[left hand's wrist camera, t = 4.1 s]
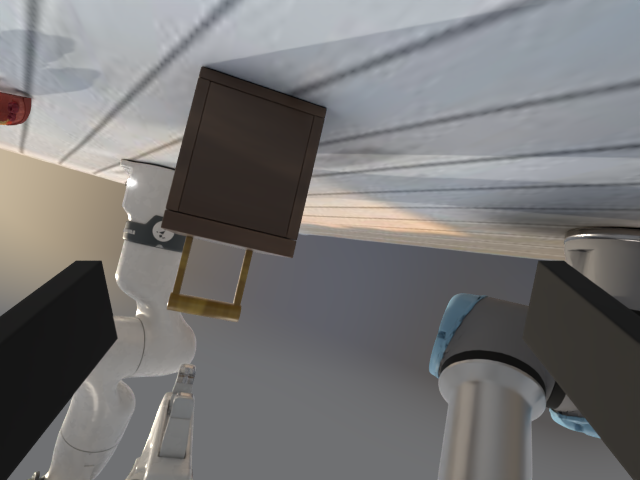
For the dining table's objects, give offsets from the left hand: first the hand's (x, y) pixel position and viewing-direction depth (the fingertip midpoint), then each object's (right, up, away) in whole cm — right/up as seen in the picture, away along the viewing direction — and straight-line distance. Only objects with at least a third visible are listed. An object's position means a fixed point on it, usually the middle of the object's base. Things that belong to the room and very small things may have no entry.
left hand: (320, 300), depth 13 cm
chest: (-6, +13, +25) cm, 29 cm away
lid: (-8, +3, +24) cm, 26 cm away
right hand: (-14, -12, +29) cm, 34 cm away
